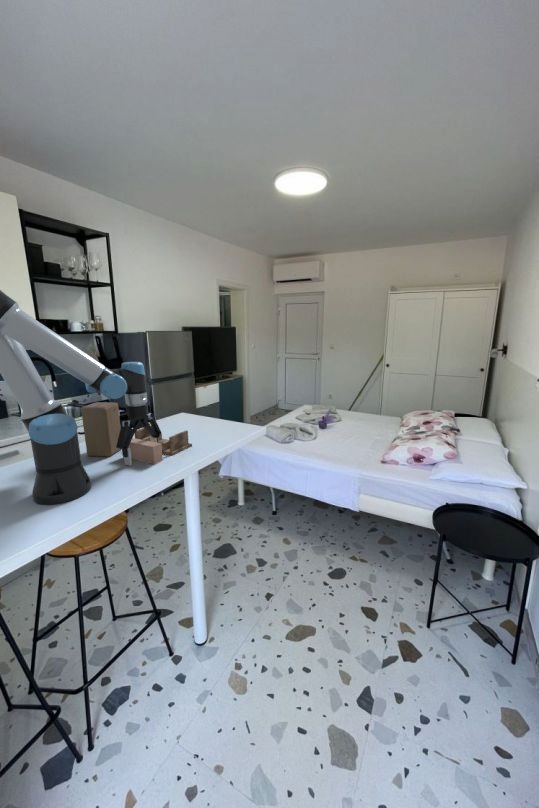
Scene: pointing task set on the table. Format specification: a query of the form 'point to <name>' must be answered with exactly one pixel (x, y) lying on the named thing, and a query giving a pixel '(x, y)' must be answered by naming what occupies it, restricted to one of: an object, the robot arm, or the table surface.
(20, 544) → the table surface
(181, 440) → the rack
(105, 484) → the table surface
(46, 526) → the table surface
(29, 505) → the table surface
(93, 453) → the wooden block
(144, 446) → the pinkish tan block
